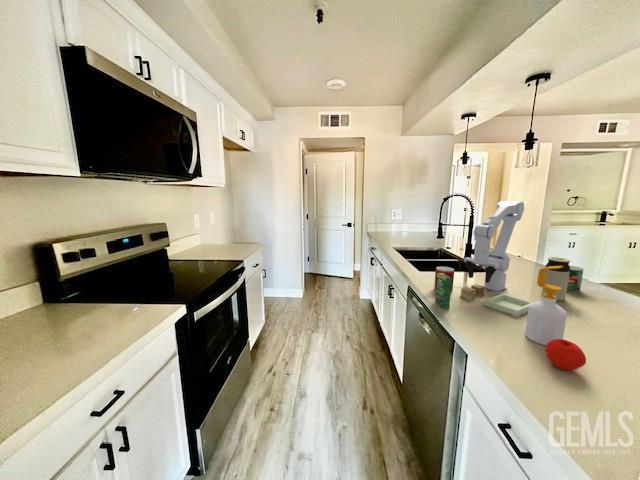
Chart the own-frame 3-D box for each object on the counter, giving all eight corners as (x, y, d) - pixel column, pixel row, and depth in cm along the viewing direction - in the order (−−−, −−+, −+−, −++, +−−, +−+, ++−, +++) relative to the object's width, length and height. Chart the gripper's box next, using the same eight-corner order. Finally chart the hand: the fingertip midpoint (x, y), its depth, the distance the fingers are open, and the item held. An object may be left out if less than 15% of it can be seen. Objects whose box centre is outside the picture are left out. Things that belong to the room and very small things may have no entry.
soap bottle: (553, 350, 78) (566, 271, 74) (519, 336, 86) (529, 263, 81) (567, 342, 82) (580, 267, 78) (533, 329, 90) (543, 260, 86)
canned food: (455, 293, 123) (457, 270, 121) (438, 293, 123) (440, 270, 121) (447, 287, 131) (449, 266, 129) (431, 287, 131) (433, 266, 129)
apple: (592, 376, 67) (597, 350, 65) (563, 378, 66) (568, 351, 65) (561, 357, 74) (565, 333, 73) (535, 358, 74) (539, 334, 73)
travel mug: (545, 299, 115) (551, 260, 112) (538, 293, 123) (544, 256, 120) (568, 302, 112) (575, 261, 109) (559, 295, 120) (566, 257, 117)
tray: (502, 299, 116) (503, 293, 115) (534, 309, 105) (535, 303, 105) (484, 305, 109) (484, 299, 109) (516, 317, 99) (517, 310, 98)
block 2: (475, 292, 125) (476, 284, 124) (484, 294, 121) (485, 286, 120) (470, 293, 123) (471, 285, 122) (479, 296, 119) (480, 288, 119)
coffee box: (434, 301, 114) (436, 272, 112) (440, 301, 114) (443, 272, 112) (442, 309, 106) (445, 278, 104) (449, 309, 106) (452, 278, 104)
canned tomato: (577, 288, 129) (581, 267, 127) (582, 293, 123) (586, 270, 121) (556, 285, 133) (559, 264, 131) (559, 290, 127) (563, 268, 125)
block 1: (466, 295, 121) (466, 286, 120) (474, 297, 118) (475, 289, 117) (460, 296, 119) (461, 288, 118) (469, 299, 116) (470, 291, 115)
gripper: (461, 249, 123) (458, 276, 125) (493, 255, 110) (490, 285, 113) (470, 247, 126) (467, 274, 128) (502, 253, 114) (499, 283, 116)
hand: (478, 279), depth 121 cm, fingers open, 7 cm apart
